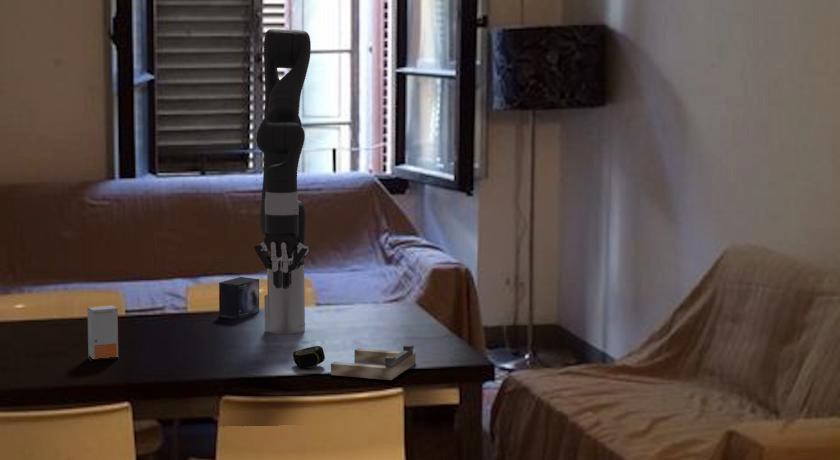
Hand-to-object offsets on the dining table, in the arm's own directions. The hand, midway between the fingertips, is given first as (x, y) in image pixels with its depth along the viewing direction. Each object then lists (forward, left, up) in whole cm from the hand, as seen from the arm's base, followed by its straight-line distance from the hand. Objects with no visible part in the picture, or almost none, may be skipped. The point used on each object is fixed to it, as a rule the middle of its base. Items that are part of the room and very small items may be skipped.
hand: (282, 287), depth 292 cm
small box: (-31, +40, -17) cm, 53 cm away
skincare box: (-40, -11, -17) cm, 45 cm away
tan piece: (+21, 0, -17) cm, 27 cm away
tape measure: (+8, 0, -17) cm, 19 cm away
